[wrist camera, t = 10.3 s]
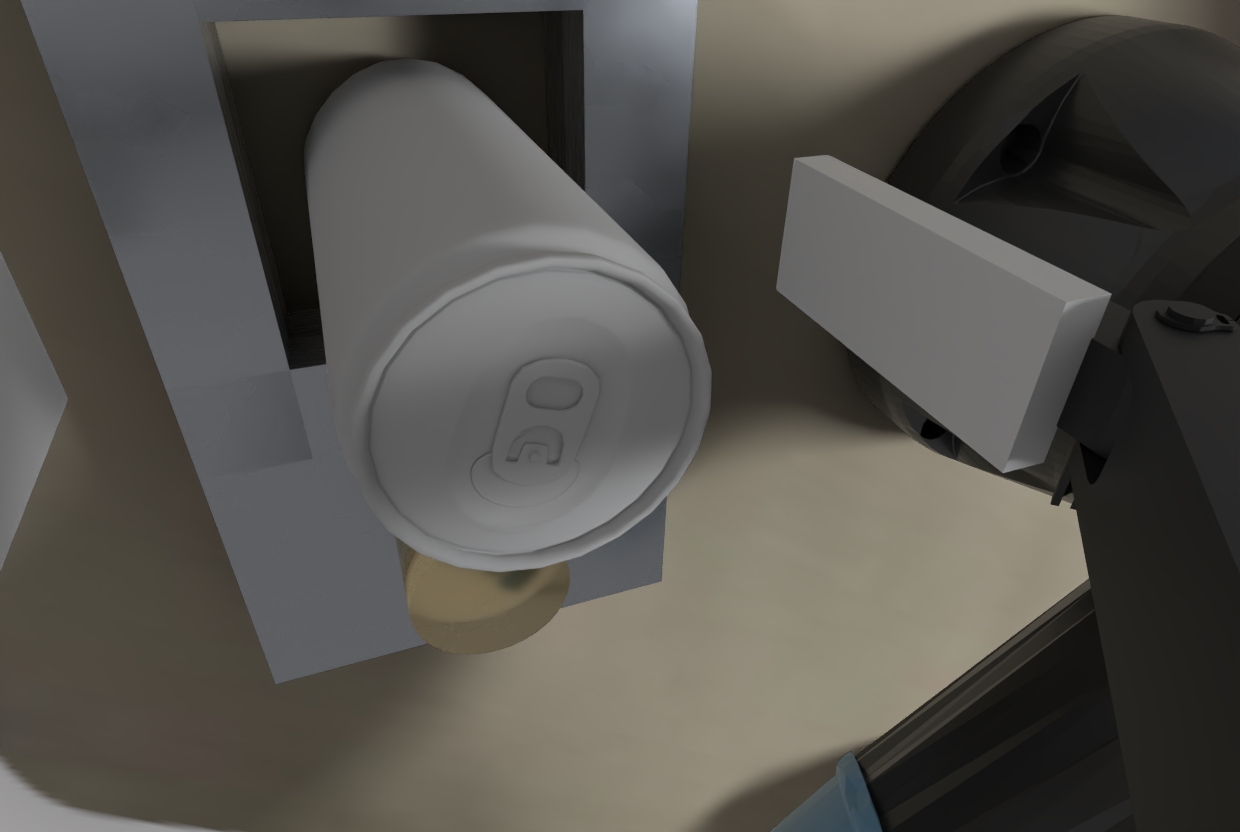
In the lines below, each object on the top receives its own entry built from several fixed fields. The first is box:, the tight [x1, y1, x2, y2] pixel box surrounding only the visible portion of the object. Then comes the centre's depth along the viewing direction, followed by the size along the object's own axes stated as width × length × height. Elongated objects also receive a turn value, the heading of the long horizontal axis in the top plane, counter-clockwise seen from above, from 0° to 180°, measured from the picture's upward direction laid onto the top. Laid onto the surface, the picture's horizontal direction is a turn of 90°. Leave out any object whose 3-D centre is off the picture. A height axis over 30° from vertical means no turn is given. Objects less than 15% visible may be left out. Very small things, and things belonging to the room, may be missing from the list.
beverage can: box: [304, 58, 712, 572], centre depth 14 cm, size 5×5×12 cm
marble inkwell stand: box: [20, 0, 698, 684], centre depth 16 cm, size 12×27×6 cm, turn 179°
